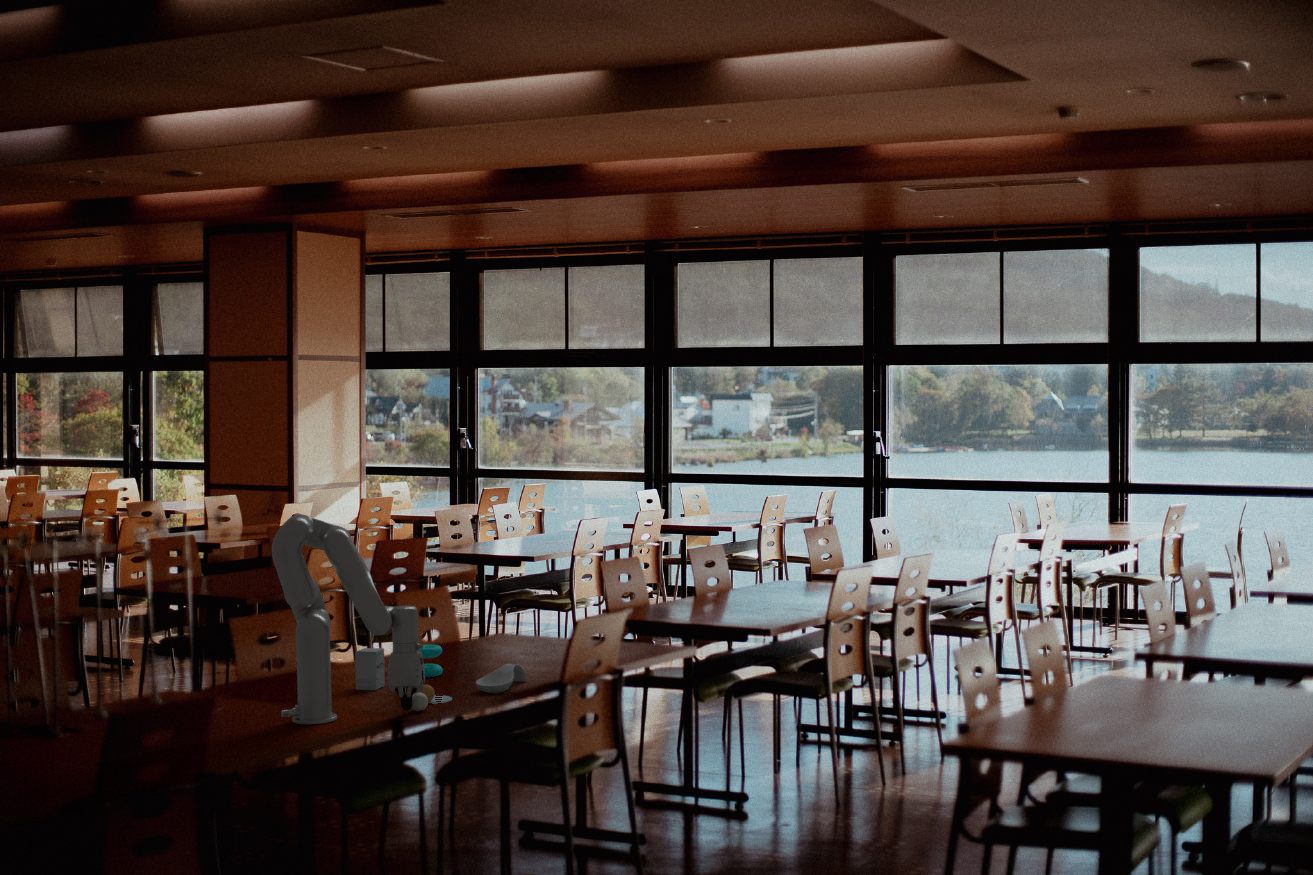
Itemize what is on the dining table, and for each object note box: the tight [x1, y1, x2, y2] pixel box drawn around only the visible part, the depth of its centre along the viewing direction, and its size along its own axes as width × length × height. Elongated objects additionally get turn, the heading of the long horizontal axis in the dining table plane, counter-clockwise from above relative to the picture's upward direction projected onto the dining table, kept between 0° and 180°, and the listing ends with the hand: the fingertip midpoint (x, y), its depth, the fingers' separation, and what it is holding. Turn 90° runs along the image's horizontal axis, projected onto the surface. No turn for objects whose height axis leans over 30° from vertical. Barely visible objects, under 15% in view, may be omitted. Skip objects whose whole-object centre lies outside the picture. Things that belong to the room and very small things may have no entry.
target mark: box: [428, 694, 453, 705], centre depth 417 cm, size 14×14×1 cm
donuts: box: [419, 644, 444, 678], centre depth 460 cm, size 10×10×10 cm
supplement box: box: [354, 647, 385, 691], centre depth 439 cm, size 7×7×13 cm
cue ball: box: [411, 692, 429, 712], centre depth 401 cm, size 6×6×6 cm
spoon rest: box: [475, 663, 527, 694], centre depth 435 cm, size 24×12×7 cm, turn 159°
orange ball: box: [416, 684, 436, 702], centre depth 414 cm, size 6×6×6 cm
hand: (406, 709), depth 396 cm, fingers closed
